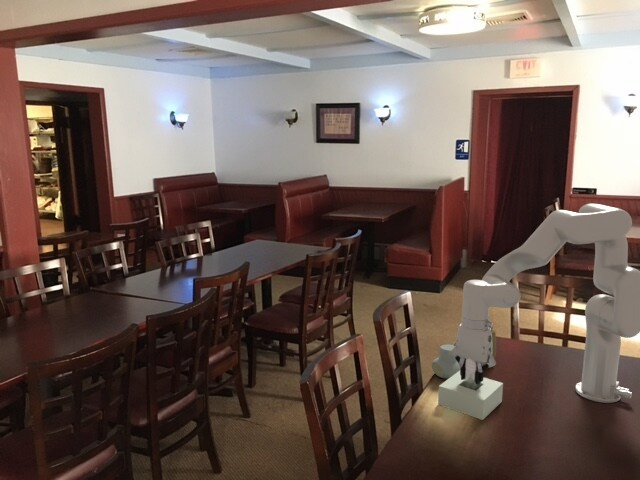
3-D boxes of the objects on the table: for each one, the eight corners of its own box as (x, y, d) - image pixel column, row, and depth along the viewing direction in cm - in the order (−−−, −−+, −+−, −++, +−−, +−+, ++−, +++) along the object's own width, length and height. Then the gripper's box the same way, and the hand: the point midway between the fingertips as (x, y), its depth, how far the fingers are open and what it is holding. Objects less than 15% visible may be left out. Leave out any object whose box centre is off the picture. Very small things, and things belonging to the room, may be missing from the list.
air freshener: (467, 380, 178) (469, 351, 176) (445, 384, 175) (447, 355, 173) (449, 367, 188) (450, 340, 186) (428, 370, 185) (429, 343, 183)
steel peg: (479, 394, 162) (482, 350, 160) (473, 399, 159) (476, 355, 157) (467, 390, 165) (469, 347, 162) (461, 395, 162) (463, 351, 159)
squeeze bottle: (497, 367, 187) (500, 318, 184) (472, 366, 189) (475, 316, 185) (494, 358, 195) (497, 310, 191) (471, 356, 196) (474, 309, 193)
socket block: (501, 401, 164) (503, 383, 162) (482, 420, 153) (483, 400, 152) (458, 387, 172) (459, 370, 171) (438, 404, 162) (438, 385, 161)
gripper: (507, 325, 155) (503, 384, 159) (454, 313, 166) (451, 368, 169) (497, 332, 150) (493, 393, 153) (442, 319, 160) (440, 376, 164)
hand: (471, 380), depth 161 cm, fingers closed on steel peg, 4 cm apart
